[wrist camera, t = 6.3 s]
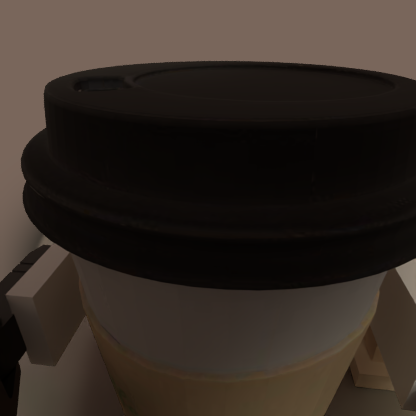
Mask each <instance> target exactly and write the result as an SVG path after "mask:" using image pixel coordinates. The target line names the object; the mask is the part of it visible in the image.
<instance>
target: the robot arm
mask: <svg viewBox="0 0 416 416" xmlns="http://www.w3.org/2000/svg"><path fill="white" fill-rule="evenodd" d="M379 292H380V293H379V298H378V303H377V308H376V313H375V316H374V318H373V320H372V322H371V324H370V327H371V329H372V332H373V335H374V337H375V340H376V342H377V345H378V348H379V350H380V353H381V356H382V358H383V361H384V364H385V366H386V369H387V372H388V374H389V377H390V380H391V382H392V385H393V387H394V390H395V393H396V395H397V398H398V401H399V403H400V406H401V409H403V410H411V411H416V259H414V260H411V261H409V262H407V263H405V264H403V265H401V266H399V267H396V268H393V269H391V270H388V271H387V273H386V275H385V277H384V279H383V282H382V284H381V286H380V288H379ZM85 315H86V314H85V311H84V308H83V303H82V299H81V294H80V290H79V275H78V272H77V269H76V267H75V264H74V261H73V258H72V256H71V253H70V252H68V251H66V250H65V249H63V248H61V247H60V246H58V245H57V244H55V243H53V245H52V246H51V245H43V246H41V247H39V248H37V249H36V250H34V251H32V252H30V253H29V254H28V255H27V256H26V257H25V258H24V259H23V260H22V261H21V262H20V264H18V265H17V266H16V267H15V268H14V269H13V270H12V272H10V273H9V274H8V275H7V276H6V277H5V278H4V279H3V280H2V281H1V282H0V416H17V407H18V396H19V386H20V376H21V370H20V365H19V362H18V361H19V360H20V359H21V357H22V356H23V354H24V353H25V352H26V351H27V354H28V357H29V359H30V362H31V364H38V365H47V366H55V365H56V364H57V362H58V360H59V359H60V357H61V355H62V354H63V352H64V350H65V349H66V347H67V345H68V344H69V342H70V340H71V339H72V337H73V335H74V334H75V332H76V330H77V329H78V327H79V325H80V323H81V322H82V320H83V318H84V317H85Z"/></svg>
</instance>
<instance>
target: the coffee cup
mask: <svg viewBox="0 0 416 416" xmlns="http://www.w3.org/2000/svg"><path fill="white" fill-rule="evenodd" d="M44 108H45V118H46V128H45V129H43V130H42V131H40V132H39V133H38V134H37V135H35V136H34V137H33V138H32V139H31V140H30V141H29V143H28V144H27V145H26V147H25V149H24V151H23V154H22V157H21V168H22V172H23V175H24V178H25V180H26V183H25V185H24V190H23V204H24V208H25V211H26V213H27V215H28V217H29V219H30V220H31V222H32V223H33V224H34V225H35V226H36V227H37V229H38V230H39V231H40V232H41V233H43V234H44V235H45V236H46V237H47V238H48V239H49V240H51V241H52V242H54V243H55V244H57V245H58V246H60V247H61V248H63V249H65V250H66V251H68V252H70V253H71V256H72V258H73V261H74V264H75V267H76V269H77V272H78V275H79V290H80V294H81V299H82V303H83V308H84V311H85V314H86V316H87V319H88V321H89V324H90V327H91V329H92V332H93V334H94V337H95V339H96V342H97V345H98V347H99V350H100V352H101V355H102V357H103V360H104V363H105V365H106V368H107V370H108V373H109V376H110V378H111V381H112V383H113V386H114V388H115V391H116V394H117V396H118V399H119V401H120V404H121V406H122V409H123V412H124V414H125V416H324V415H325V413H326V411H327V409H328V407H329V405H330V403H331V401H332V399H333V397H334V395H335V393H336V391H337V389H338V387H339V385H340V383H341V381H342V379H343V377H344V375H345V373H346V371H347V369H348V367H349V365H350V363H351V361H352V359H353V357H354V355H355V353H356V351H357V349H358V347H359V345H360V343H361V341H362V339H363V337H364V335H365V333H366V331H367V329H368V327H369V325H370V324H371V322H372V320H373V318H374V316H375V313H376V308H377V303H378V298H379V293H380V292H379V288H380V286H381V284H382V282H383V279H384V277H385V275H386V273H387V271H388V270H391V269H393V268H396V267H399V266H401V265H403V264H405V263H407V262H409V261H411V260H414V259H416V80H412V79H409V78H405V77H401V76H397V75H392V74H387V73H382V72H376V71H369V70H362V69H354V68H346V67H336V66H326V65H312V64H298V63H280V62H251V61H196V62H165V63H148V64H134V65H123V66H114V67H106V68H98V69H92V70H86V71H81V72H77V73H72V74H69V75H65V76H62V77H59V78H57V79H55V80H52V81H51V82H49V83H48V84H47V85H46V86H45V90H44Z"/></svg>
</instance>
